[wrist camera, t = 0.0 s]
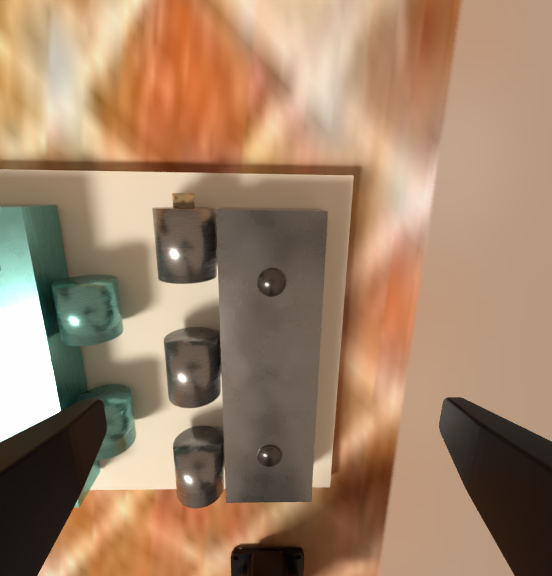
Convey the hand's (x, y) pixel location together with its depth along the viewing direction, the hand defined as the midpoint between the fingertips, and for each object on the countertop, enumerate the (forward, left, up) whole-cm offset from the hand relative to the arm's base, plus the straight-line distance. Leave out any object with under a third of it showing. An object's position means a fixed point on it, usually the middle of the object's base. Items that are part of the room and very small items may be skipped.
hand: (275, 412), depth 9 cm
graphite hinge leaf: (-5, +2, -14) cm, 15 cm away
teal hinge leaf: (-5, +15, -13) cm, 21 cm away
